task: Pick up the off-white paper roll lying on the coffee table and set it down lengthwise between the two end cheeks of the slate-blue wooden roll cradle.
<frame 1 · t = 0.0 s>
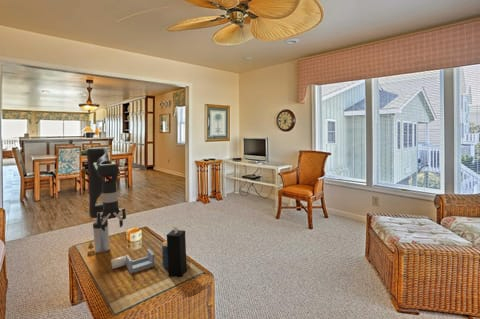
hand: (112, 228, 144), 29 cm above the table, fingers open, 8 cm apart
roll: (120, 266, 161), on the table
canister: (173, 264, 162), on the table
long black block: (177, 273, 151), on the table
cradle: (140, 266, 160), on the table
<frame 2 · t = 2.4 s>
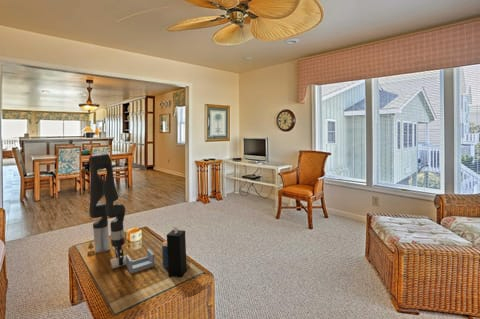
hand: (119, 262, 160), 3 cm above the table, fingers open, 8 cm apart
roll: (120, 266, 160), point 1 cm above the table, tilted 46°
everything else where it was.
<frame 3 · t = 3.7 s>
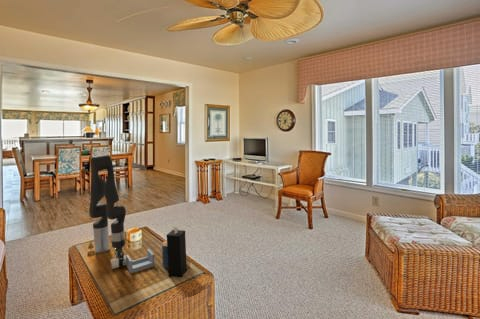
hand: (120, 264, 161), 1 cm above the table, fingers closed on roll, 5 cm apart
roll: (120, 266, 159), on the table, tilted 35°, touching gripper
everything else where it was.
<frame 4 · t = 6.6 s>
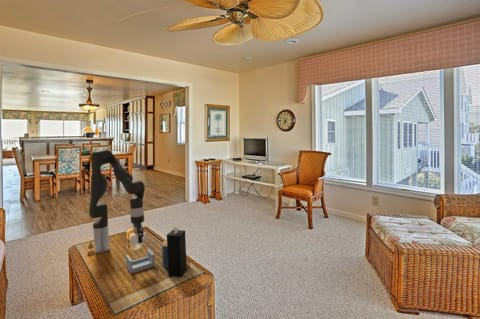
hand: (138, 241, 158), 16 cm above the table, fingers closed on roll, 5 cm apart
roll: (139, 243, 157), point 16 cm above the table, tilted 35°, touching gripper
everything else where it was.
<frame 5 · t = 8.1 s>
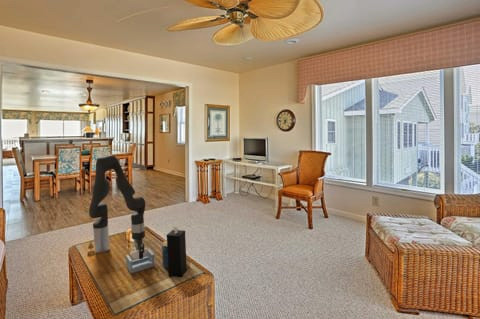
hand: (139, 256, 159), 6 cm above the table, fingers closed on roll, 5 cm apart
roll: (140, 258, 158), point 6 cm above the table, tilted 36°, touching gripper
everything else where it was.
when the fingers open (4 cm above the table, at t = 9.5 s): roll drops 2 cm, resting on cradle.
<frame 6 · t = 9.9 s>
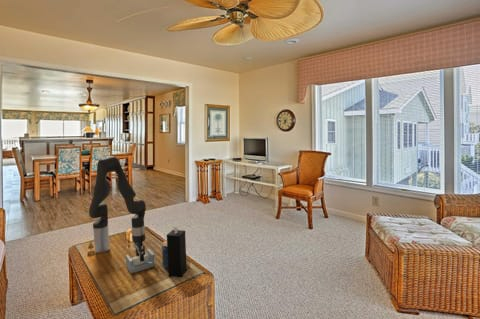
hand: (140, 258, 160), 5 cm above the table, fingers open, 8 cm apart
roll: (140, 265, 159), point 1 cm above the table, tilted 34°, touching cradle
everything else where it was.
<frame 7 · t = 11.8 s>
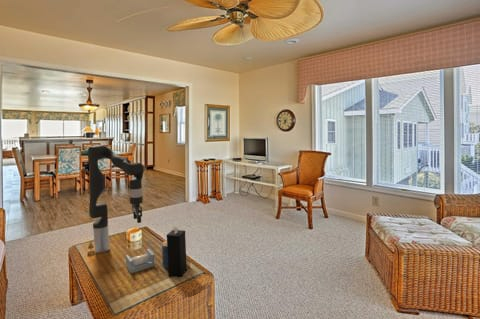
hand: (137, 220, 162), 27 cm above the table, fingers open, 8 cm apart
nothing on the table moved.
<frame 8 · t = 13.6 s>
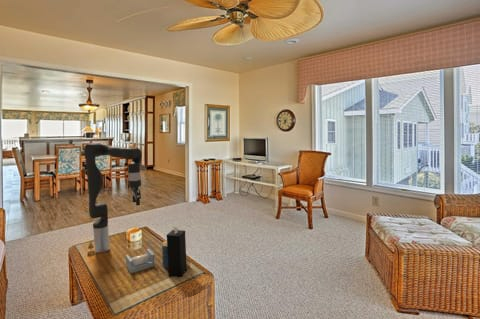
hand: (136, 203, 168), 36 cm above the table, fingers open, 8 cm apart
nothing on the table moved.
at the end: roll 1.6 cm off-centre on the cradle, point 1.4 cm above the cradle's base; the gripper is holding nothing; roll touching cradle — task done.
